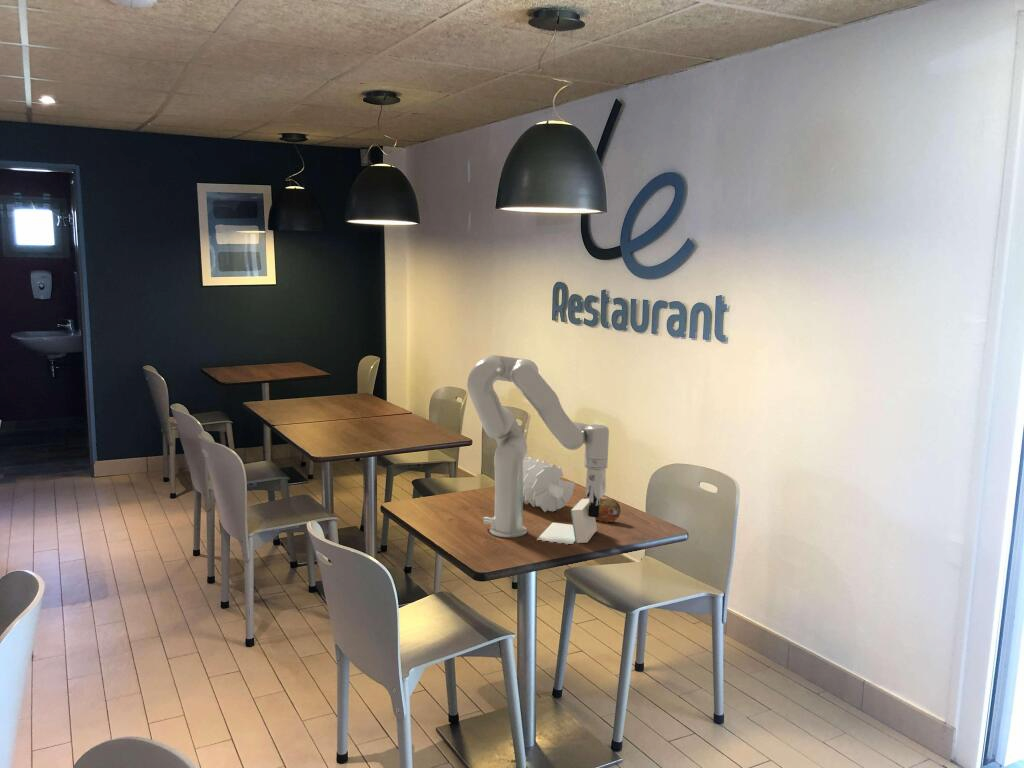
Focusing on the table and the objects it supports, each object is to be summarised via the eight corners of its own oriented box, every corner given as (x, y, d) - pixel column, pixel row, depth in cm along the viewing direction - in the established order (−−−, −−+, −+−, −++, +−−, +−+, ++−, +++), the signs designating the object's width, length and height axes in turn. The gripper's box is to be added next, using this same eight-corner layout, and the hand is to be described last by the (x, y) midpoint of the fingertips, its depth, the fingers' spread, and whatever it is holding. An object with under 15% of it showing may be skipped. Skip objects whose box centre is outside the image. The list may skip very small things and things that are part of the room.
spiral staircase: (548, 526, 293) (506, 506, 312) (581, 499, 301) (539, 481, 321) (533, 486, 285) (492, 467, 305) (568, 459, 294) (526, 443, 313)
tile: (575, 543, 264) (570, 510, 263) (585, 530, 277) (580, 499, 276) (587, 542, 263) (582, 509, 262) (597, 529, 276) (592, 498, 275)
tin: (578, 517, 291) (579, 495, 290) (581, 515, 293) (582, 493, 292) (618, 524, 284) (618, 501, 283) (621, 522, 287) (622, 499, 285)
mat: (536, 540, 266) (536, 539, 265) (552, 523, 283) (552, 522, 283) (572, 545, 262) (572, 543, 262) (585, 527, 280) (586, 526, 280)
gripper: (602, 468, 257) (599, 524, 260) (612, 458, 271) (609, 511, 274) (579, 466, 260) (577, 521, 262) (590, 456, 274) (588, 508, 276)
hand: (593, 516), depth 268 cm, fingers closed
